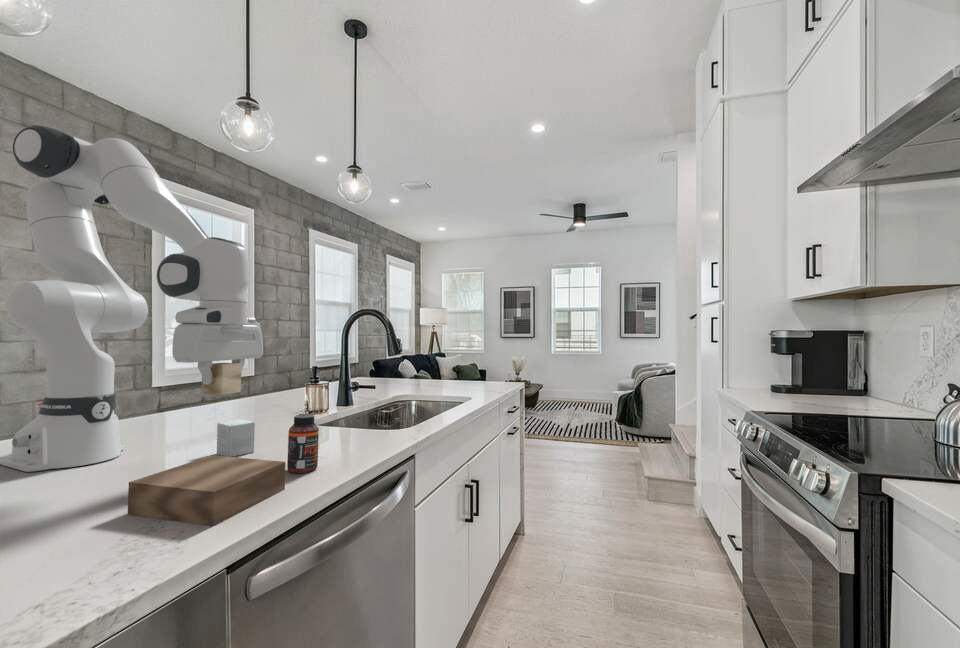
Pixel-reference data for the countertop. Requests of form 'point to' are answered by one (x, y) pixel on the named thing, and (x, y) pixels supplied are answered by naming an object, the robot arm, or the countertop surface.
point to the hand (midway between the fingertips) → (221, 382)
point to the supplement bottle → (303, 444)
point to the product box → (235, 437)
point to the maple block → (224, 379)
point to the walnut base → (206, 489)
